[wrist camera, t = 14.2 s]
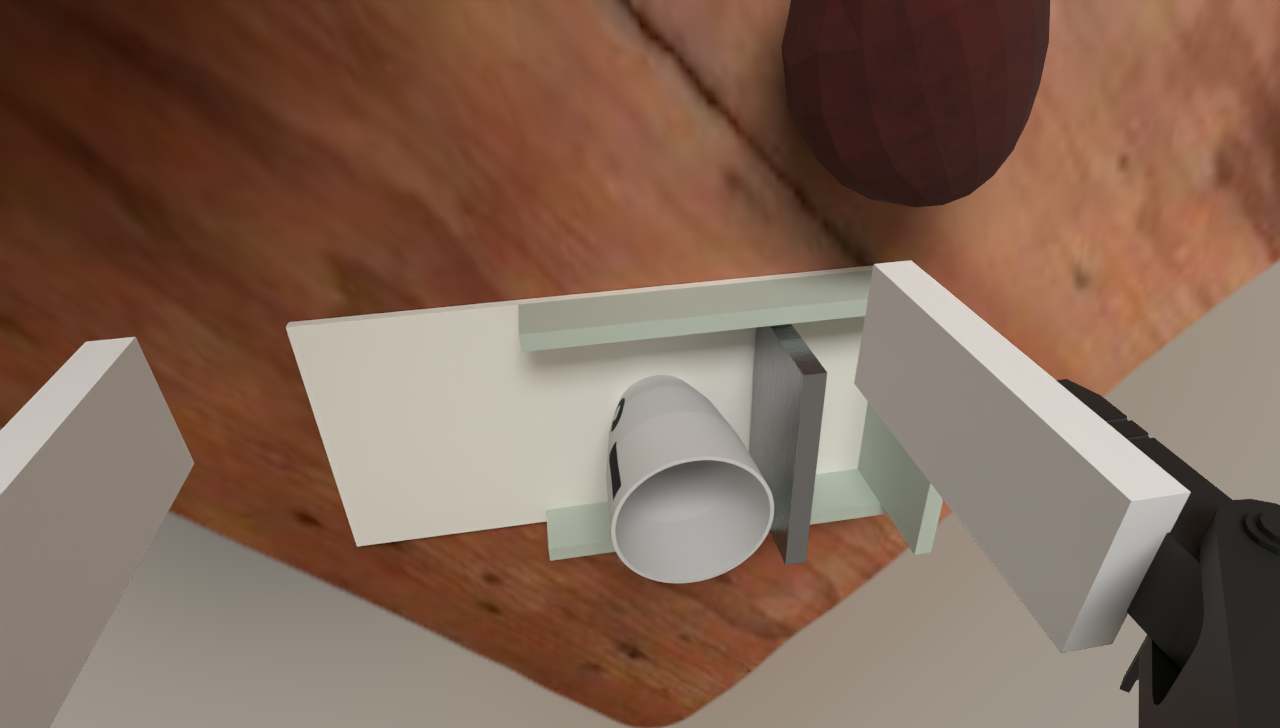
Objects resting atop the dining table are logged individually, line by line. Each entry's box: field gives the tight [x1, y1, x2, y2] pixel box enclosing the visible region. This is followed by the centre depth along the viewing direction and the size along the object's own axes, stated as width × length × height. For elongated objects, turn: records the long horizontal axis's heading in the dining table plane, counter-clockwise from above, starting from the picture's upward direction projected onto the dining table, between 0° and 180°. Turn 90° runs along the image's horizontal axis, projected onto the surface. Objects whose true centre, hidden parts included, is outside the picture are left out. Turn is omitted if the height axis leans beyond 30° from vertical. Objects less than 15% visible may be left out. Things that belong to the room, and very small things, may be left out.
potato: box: [782, 0, 1050, 207], centre depth 30 cm, size 11×13×10 cm
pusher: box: [749, 324, 827, 565], centre depth 41 cm, size 1×13×8 cm, turn 2°
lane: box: [286, 265, 943, 561], centre depth 40 cm, size 34×16×9 cm, turn 92°
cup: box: [606, 375, 774, 583], centre depth 39 cm, size 8×8×10 cm
